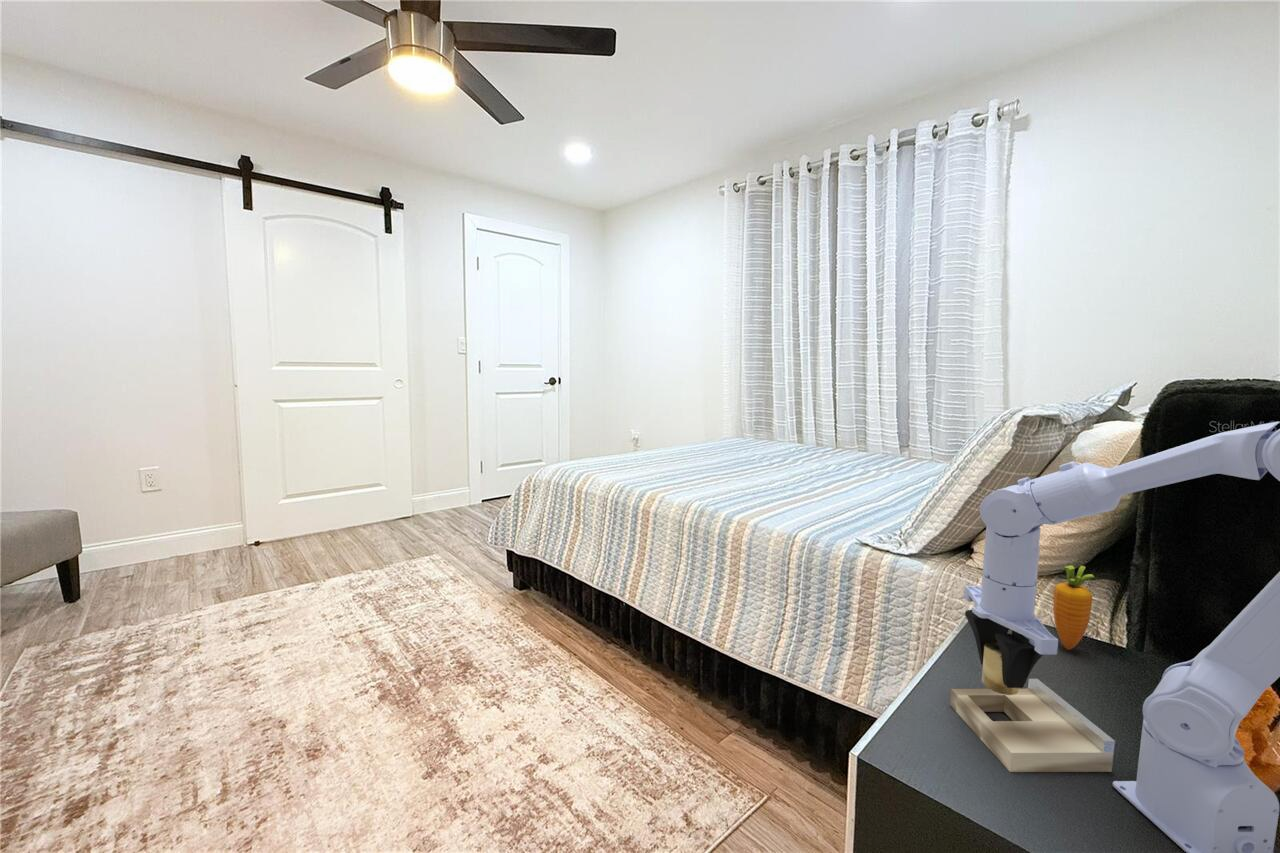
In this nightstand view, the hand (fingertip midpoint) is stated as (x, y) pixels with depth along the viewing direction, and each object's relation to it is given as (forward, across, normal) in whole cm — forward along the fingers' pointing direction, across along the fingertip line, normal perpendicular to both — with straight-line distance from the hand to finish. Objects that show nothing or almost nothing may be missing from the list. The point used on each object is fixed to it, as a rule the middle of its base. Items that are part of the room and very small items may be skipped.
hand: (1001, 675), depth 68 cm
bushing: (+1, 0, 0) cm, 1 cm away
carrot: (+7, -18, +24) cm, 31 cm away
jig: (+7, +2, +2) cm, 8 cm away
